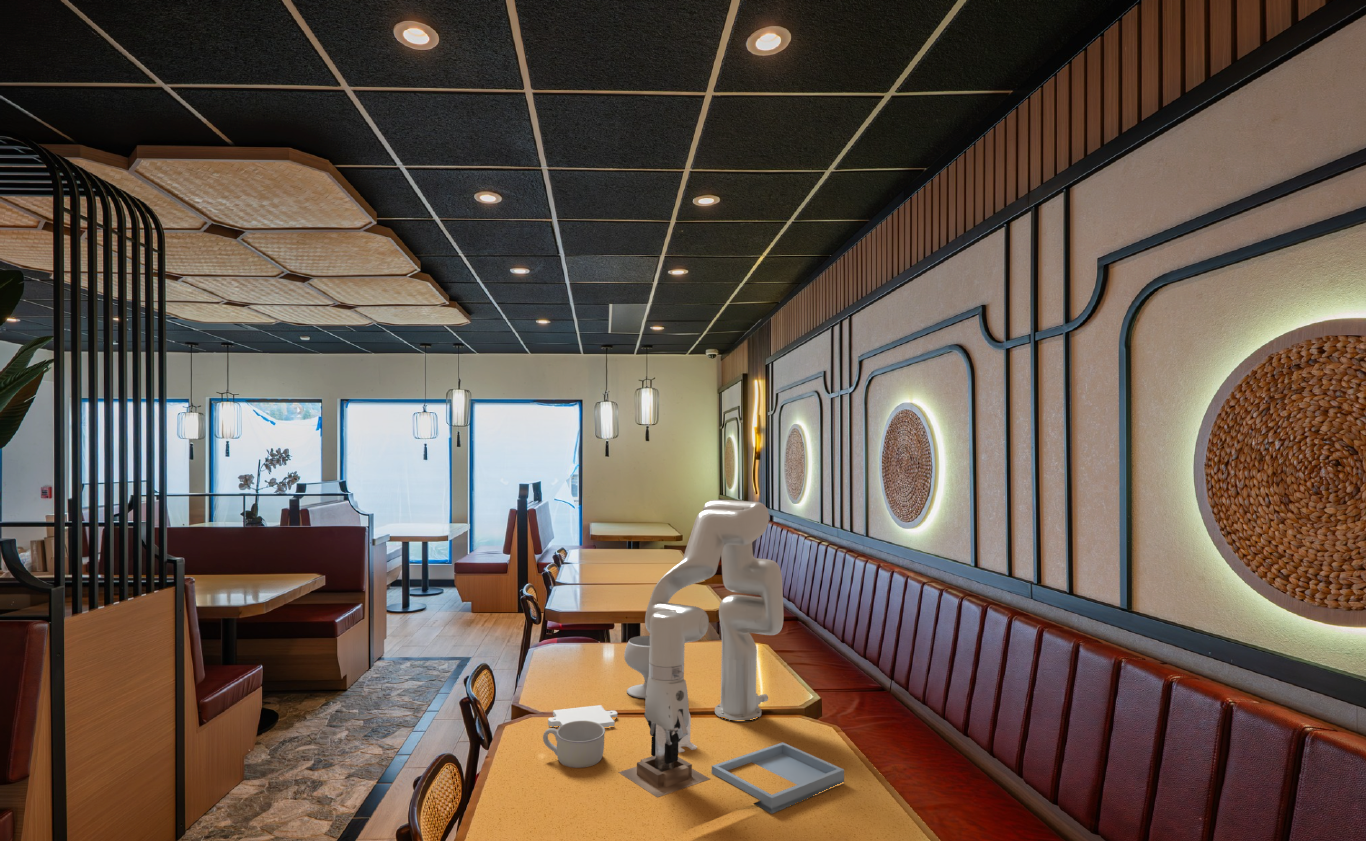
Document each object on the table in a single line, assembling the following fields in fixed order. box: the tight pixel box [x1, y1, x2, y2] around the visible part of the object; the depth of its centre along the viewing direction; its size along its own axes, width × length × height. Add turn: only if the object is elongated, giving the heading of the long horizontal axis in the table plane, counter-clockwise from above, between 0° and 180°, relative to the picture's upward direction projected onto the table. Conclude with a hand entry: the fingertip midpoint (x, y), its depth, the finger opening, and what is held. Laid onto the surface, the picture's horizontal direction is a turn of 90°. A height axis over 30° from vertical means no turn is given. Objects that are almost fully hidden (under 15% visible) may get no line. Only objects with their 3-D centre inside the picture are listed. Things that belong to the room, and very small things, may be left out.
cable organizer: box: [674, 712, 698, 754], centre depth 172 cm, size 5×10×10 cm, turn 31°
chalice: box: [623, 635, 650, 699], centre depth 212 cm, size 14×14×15 cm
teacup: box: [542, 721, 606, 769], centre depth 162 cm, size 14×11×8 cm
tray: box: [711, 741, 845, 815], centre depth 156 cm, size 22×18×3 cm
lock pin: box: [655, 724, 675, 772], centre depth 155 cm, size 4×4×12 cm
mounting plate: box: [547, 704, 618, 727], centre depth 188 cm, size 18×13×2 cm
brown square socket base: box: [618, 755, 711, 798], centre depth 154 cm, size 14×14×4 cm
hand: (664, 757), depth 155 cm, fingers closed on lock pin, 4 cm apart
